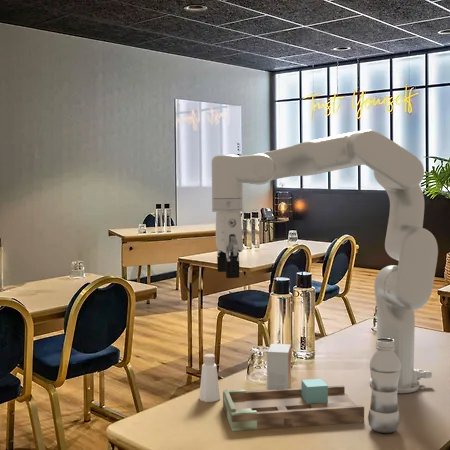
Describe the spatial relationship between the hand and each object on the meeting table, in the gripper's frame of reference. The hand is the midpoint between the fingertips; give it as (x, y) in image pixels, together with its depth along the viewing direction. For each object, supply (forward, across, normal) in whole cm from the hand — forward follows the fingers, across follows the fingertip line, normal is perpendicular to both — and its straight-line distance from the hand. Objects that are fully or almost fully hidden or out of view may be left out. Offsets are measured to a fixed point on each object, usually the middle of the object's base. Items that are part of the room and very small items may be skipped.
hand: (228, 274), depth 150 cm
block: (+29, -12, -18) cm, 36 cm away
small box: (+31, +3, -14) cm, 34 cm away
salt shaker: (+31, 0, +5) cm, 32 cm away
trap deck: (+31, -15, -11) cm, 36 cm away
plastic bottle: (+31, -28, -28) cm, 50 cm away
